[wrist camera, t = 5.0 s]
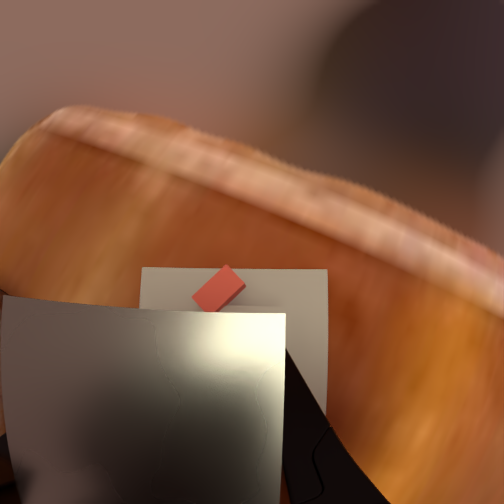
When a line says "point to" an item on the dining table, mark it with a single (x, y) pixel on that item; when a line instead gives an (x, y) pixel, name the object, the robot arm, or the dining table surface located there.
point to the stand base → (254, 306)
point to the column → (142, 404)
